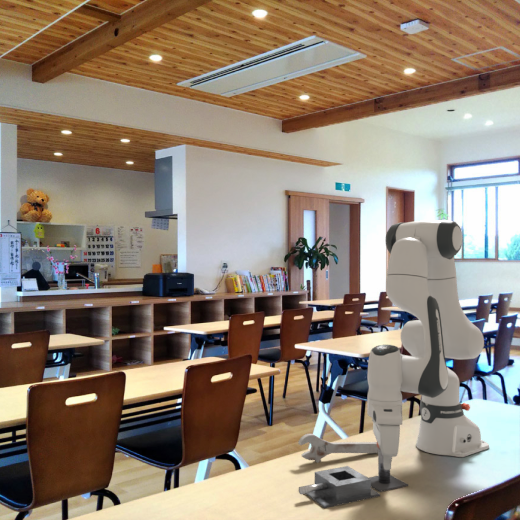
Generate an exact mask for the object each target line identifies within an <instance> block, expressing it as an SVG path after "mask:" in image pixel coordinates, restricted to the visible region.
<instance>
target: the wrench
mask: <svg viewBox="0 0 520 520" xmlns="http://www.w3.org/2000/svg"><path fill="white" fill-rule="evenodd" d="M307 443H309V444H310V449H309V450H307V451H304V452H303V453H302V454H301V458H304V459H305V460H308V461H314V462H315V463H320V462H321V461H322V459H323V458H325V457H327V456H328V455H330V454H331V455H332V454H378V448H377V441H355V442H354V441H352V442H351V441H349V442H348V441H341V442H339V441H338V442H336V441H334V442H331V441H327V440H325V439H322V438H320V437H318V436H317V435H315V434H313V433H305V434H304V435H302V436H301V437H300V438H299V440H298V445H300V446H303V445H305V444H307Z"/></svg>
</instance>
